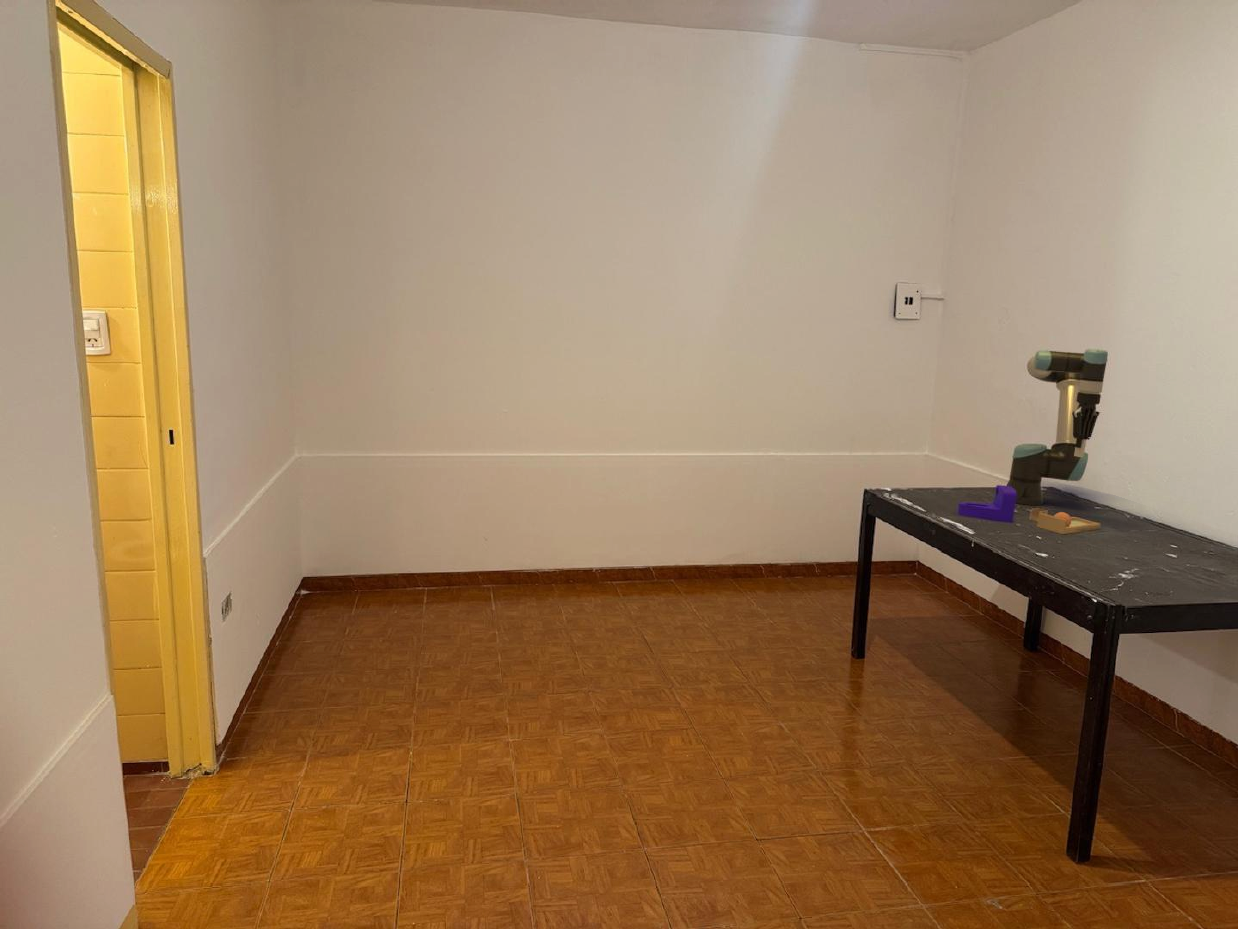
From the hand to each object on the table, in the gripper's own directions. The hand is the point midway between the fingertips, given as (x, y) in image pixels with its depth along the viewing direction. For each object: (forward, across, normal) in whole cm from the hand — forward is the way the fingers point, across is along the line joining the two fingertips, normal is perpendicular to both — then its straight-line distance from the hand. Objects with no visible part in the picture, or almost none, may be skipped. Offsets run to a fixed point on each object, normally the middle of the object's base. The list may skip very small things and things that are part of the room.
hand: (1078, 456), depth 317 cm
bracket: (+25, +29, -15) cm, 41 cm away
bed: (+24, +10, +7) cm, 27 cm away
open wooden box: (+24, +12, -4) cm, 27 cm away
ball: (+21, +16, +7) cm, 27 cm away
